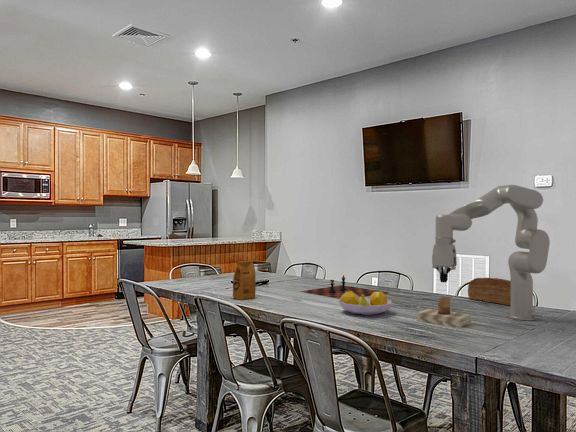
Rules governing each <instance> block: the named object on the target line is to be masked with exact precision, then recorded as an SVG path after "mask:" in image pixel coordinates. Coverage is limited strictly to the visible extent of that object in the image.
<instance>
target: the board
mask: <svg viewBox="0 0 576 432" xmlns="http://www.w3.org/2000/svg"><path fill="white" fill-rule="evenodd" d="M416 312H417V315H416V316H417V317H416V318H417V319H416V321H417V322H421V321H422V322H421V323H427V322H428V323H429V324H433V323H435V324H434V325H439V324H440V325H441V326H444V325H447V326H446V327H450V326H453V327H452V328H456V327H458V329H460V327H461V328H463V326H464V327H466V326H468V324H469V325H471V324H472V314H468V313H461V312H455V311H450V314H448V315H443V314H438V309H434V308H426V309H424V310H420V311H416ZM470 323H471V324H470ZM440 325H439V326H440ZM465 325H466V326H465Z"/></svg>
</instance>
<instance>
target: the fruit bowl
mask: <svg viewBox="0 0 576 432" xmlns="http://www.w3.org/2000/svg"><path fill="white" fill-rule="evenodd" d="M337 301H338V304H339V305H340V306H341V308H342V309H344V310H345V311H347V312H349V313H351V314H353V315H360V314H361V316H373V315H378V314H382V313H384V312H385V311H387V310H389V309H390V308H391V306H392V300H391V299H388V298H387V295H386V294H384V293H383V292H373V293H372V294H371V295H370V296H367V297H364V295H362V297H358V295H356V294H355V293H354V292H352V291H349V292H346V293H344V294H343V295H342V296H341V298H340V299H338V300H337Z"/></svg>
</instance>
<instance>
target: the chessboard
mask: <svg viewBox="0 0 576 432" xmlns="http://www.w3.org/2000/svg"><path fill="white" fill-rule="evenodd" d="M345 280H346V277H345V275H342V277H341V285H340V284H339V285H335V283H334V282H335V280H334V279H329V281H330V286H327V287H321V288H314V289H313V288H312V289H305V290H300V291H299V292H300V293H304V294H311V295H314V296H321V297H327V298H332V299H338V300H339V299H340V298H341V296H342V295H343V294H344V293H346V292H349V291H352V292H354V293H355V294H356V295H358V297H362V295H364V297H370V295H371V294H372V293H373V292H383V293H384V295H386V294H389V291H383V290H376V289H370V288H364V287H358V286H357V287H356V286H352V285H351V286H349V285H346V281H345Z"/></svg>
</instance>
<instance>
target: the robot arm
mask: <svg viewBox="0 0 576 432" xmlns="http://www.w3.org/2000/svg"><path fill="white" fill-rule="evenodd" d="M543 203H544V197H543V195H542V193H540V192H539V191H538V190H534V189H531V188H527V187H523V186H520V185H516V184H508V185H507V184H505V185H498V186H496V187H494V188H492V189H491V190H489V191H488V192H486V193H485V194H484V195H482V196H480V197H479V198H477V199H475V200H473V201H470V202H468V203H466V204H465V205H462V206H460V207H458V208H456V209H455V210H453V211H452V212H450V213H448V214H437V215H436V216H435V235H434V237H435V243H434V245H433V249H432V254H431V255H432V256H431V263H432V266H431V268H432V269H434V270H436V271H438V273H439V281H440V283H447V282H448V278H449V276H448V275H449V273H450V272H451V271H455V270H456V269H457V267H456V266H457V263H458V262H457V261H458V258H457V257H458V256H457V252H456V251H457V249H456V245H455V244H454V243H456V241H457V240H456V239H454V231H459V232H463V231H467V230H469V229H471V227H472V226H473V219H478V218H481V217H486V216H488V215H490V214H491V213H493V212H494V211H495V210H497V209H499V208H500V207H502V206H503V205H505V204H509V205H510V207H511V208H512V209H513V211H514V212H515V214H516V216H517V224H516V225H517V226H516V231H515V237H514V238H515V239H514V243H515V245H516V246H517V247H518V248H520V249H525V250H529V251H524V250H523V251H521V250H518V251H514V252H512V253H510V255H509V256H508V259H507V263H508V264H507V265H508V268H509V274H510V281H511V305H510V313H507V314H506V317H507V318H508V319H512V320H516V321H536V320H537V317H539V318H543V316H544V315H543V314H544V313H543V312H540V311H539V312H538V311H536V309H535V308H534V306H533V305H534V303H533V302H534V299H533V297H534V295H533V294H534V279H533V276H532V274H541V273H542V272H543V271H545V269H546V266H547V263H548V257H549V251H550V243H551V242H550V237H549V234H548V233H547V232H546V231H545V230H542V229H539V228H538V224H539V223H538V221H539V220H538V215H537V214H538V213H537V212H536V209H539V208H540V207H541V206H542V205H543Z"/></svg>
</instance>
